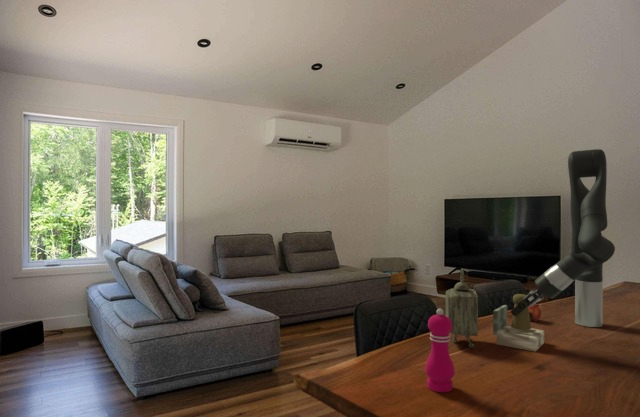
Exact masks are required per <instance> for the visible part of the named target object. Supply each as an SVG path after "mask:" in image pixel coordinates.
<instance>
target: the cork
mask: <svg viewBox="0 0 640 417" xmlns="http://www.w3.org/2000/svg"><path fill="white" fill-rule="evenodd" d="M527 295H528V294H524V293H516V294H514V295H513V296H512V302H513V303H514V305H513V309H514V308H515V307H516V306H518V304H519V302H521V301H522V300H523V298H524V297H525V296H527ZM523 304H524V306H525V307H526V306H527V305H526V304H525V303H524V302H523ZM510 325H511V327H513V328H516V329H523V330H528V329H531V328H532V326H531V320H530V317H529V310H528V307H527V308H526V310H523V311H522V312H521V313H519V314H518V315H517V316H514V315H513V314H512V320H511V324H510Z"/></svg>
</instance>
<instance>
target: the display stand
mask: <svg viewBox="0 0 640 417" xmlns="http://www.w3.org/2000/svg"><path fill="white" fill-rule="evenodd" d="M511 325H512V324H508V305H507V304H503V305H501V306H499V307H498V308H495V309H494V310H493V311H492V332H493V333H492V334H493V336H496V345H499V346H504V347H510V348H515V349H518V350H519V349H520V350H524V351H525V350H526V351H530V352H535V353H536V352H537V351H538V350H539V349H540V348H541V347H542V346H543V345H544V344H545V330H544V329H537V328H532V327H531V329H528V330H523V329H516V328H513V327H511Z"/></svg>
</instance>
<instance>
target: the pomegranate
mask: <svg viewBox="0 0 640 417" xmlns="http://www.w3.org/2000/svg"><path fill="white" fill-rule="evenodd" d="M528 310H529V317H530V321H533V322H537V321H539V320H540V319H541V318H542V311H541V309H540V306H539V303H538V304H537V303H536V304H534V305H533V306H531V307H528Z"/></svg>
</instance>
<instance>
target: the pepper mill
mask: <svg viewBox="0 0 640 417" xmlns="http://www.w3.org/2000/svg"><path fill="white" fill-rule="evenodd" d="M444 313H445V310H443V309H442V308H438V309H436V314H434V315H431V316H430V317H429V319H428V321H427V329H428V330H429V331H430V333H429V336H430V337H429V340H431V350H430V353H429V356H428V358H427V360H426V363H425V367H424V370H425V374H426V375H427V377H428V378H426V386H427V389H429V390H430V391H432V392H437V393H450V392H451V391H453V389H454V388H453V384H454V383H453V381H452V379H453V377H454V376H455V374H456V373H455V372H456V371H455V370H456V369H455V366H454V363H453V360H452V358H451V356H450V352H449V342H450V341H451V333H450V332H451V330H452V322H451V320H450V319H449V318H448V317H447V316H446V314H445V315H444Z"/></svg>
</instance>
